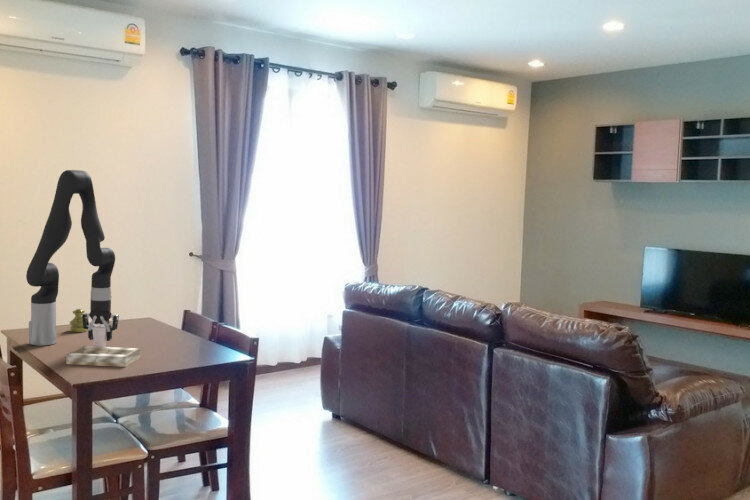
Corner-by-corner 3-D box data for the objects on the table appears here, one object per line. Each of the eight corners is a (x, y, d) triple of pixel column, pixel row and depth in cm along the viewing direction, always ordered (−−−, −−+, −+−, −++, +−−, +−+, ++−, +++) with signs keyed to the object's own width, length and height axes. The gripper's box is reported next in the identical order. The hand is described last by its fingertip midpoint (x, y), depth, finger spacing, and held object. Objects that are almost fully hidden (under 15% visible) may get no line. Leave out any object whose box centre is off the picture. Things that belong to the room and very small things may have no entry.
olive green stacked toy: (75, 328, 309) (75, 307, 308) (90, 330, 308) (90, 308, 307) (65, 332, 301) (66, 309, 300) (81, 333, 300) (81, 311, 299)
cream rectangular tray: (66, 364, 247) (66, 354, 247) (83, 355, 261) (83, 345, 261) (125, 366, 247) (125, 356, 246) (139, 357, 261) (139, 348, 260)
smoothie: (91, 352, 263) (92, 317, 262) (90, 349, 268) (90, 314, 267) (109, 351, 266) (110, 316, 265) (107, 348, 271) (108, 313, 270)
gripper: (78, 298, 262) (77, 341, 263) (115, 300, 262) (114, 343, 263) (87, 296, 269) (86, 337, 271) (122, 297, 269) (121, 339, 270)
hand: (100, 339), depth 267 cm, fingers closed on smoothie, 6 cm apart
